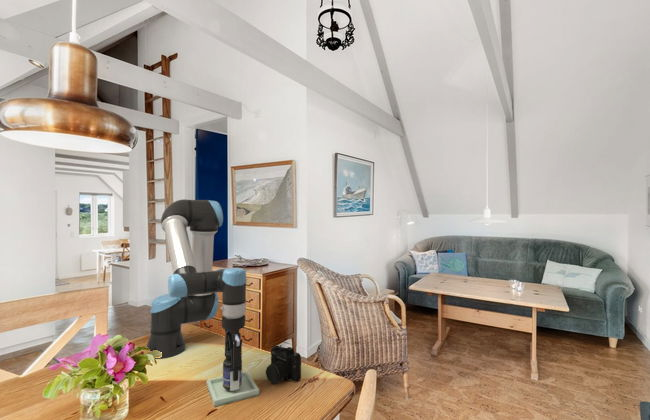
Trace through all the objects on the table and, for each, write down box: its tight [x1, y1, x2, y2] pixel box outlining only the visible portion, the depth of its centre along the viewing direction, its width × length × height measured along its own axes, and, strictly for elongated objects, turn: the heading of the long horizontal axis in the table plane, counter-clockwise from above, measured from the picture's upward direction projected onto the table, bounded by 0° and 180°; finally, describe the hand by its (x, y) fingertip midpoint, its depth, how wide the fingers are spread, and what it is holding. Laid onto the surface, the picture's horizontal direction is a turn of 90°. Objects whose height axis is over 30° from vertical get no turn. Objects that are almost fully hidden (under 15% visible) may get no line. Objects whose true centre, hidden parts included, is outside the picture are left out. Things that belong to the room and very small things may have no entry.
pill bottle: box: [222, 350, 243, 390], centre depth 108 cm, size 6×6×11 cm
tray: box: [206, 370, 260, 408], centre depth 108 cm, size 14×14×2 cm
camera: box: [265, 345, 302, 385], centre depth 116 cm, size 14×11×10 cm
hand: (232, 384), depth 108 cm, fingers closed on pill bottle, 6 cm apart
